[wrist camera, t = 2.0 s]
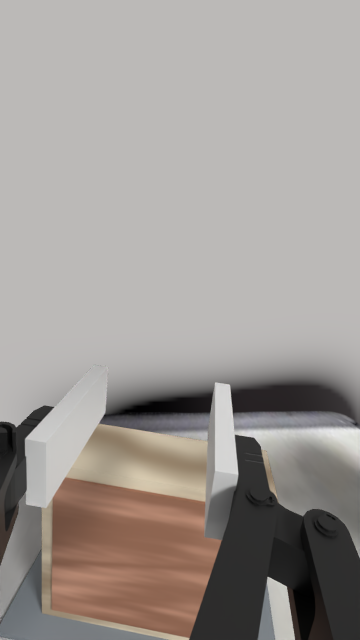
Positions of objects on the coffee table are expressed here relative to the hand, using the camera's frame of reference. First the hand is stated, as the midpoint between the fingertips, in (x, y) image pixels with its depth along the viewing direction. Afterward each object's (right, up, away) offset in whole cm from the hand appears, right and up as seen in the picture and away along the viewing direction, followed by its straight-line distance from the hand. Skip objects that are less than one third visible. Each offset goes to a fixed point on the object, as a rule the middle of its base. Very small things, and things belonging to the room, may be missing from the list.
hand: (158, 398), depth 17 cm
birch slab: (-2, -23, +14) cm, 27 cm away
